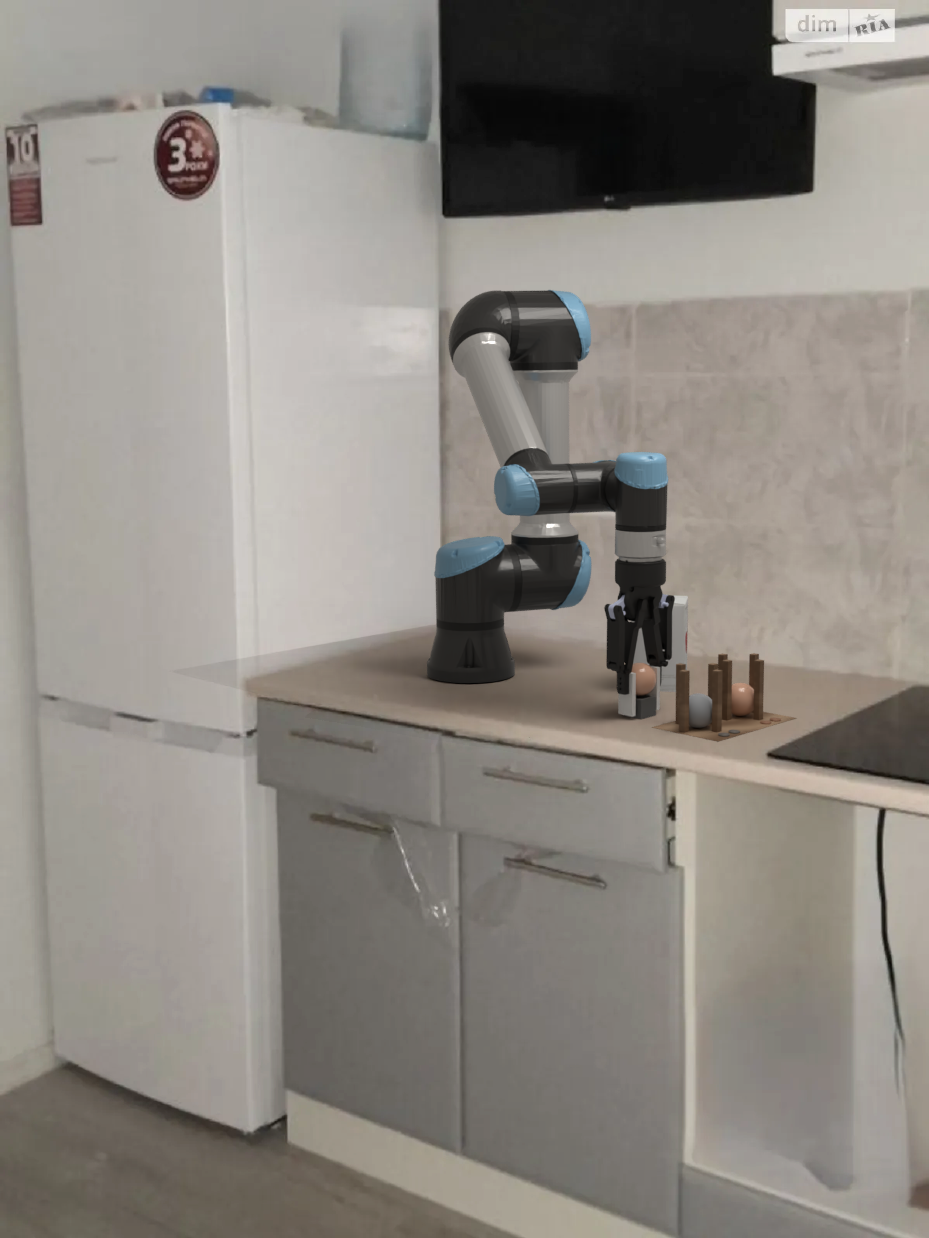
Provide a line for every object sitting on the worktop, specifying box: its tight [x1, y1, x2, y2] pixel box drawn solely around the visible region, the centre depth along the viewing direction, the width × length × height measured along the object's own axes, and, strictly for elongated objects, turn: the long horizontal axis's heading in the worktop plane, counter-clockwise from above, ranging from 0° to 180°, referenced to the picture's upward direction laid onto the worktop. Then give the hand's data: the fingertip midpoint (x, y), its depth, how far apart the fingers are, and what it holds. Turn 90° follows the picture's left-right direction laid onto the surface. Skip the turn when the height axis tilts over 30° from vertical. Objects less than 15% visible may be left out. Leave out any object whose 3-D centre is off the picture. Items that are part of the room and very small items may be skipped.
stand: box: [623, 695, 657, 720], centre depth 228 cm, size 3×3×4 cm
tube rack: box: [651, 652, 798, 743], centre depth 223 cm, size 12×19×10 cm, turn 133°
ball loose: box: [632, 663, 656, 696], centre depth 228 cm, size 5×5×5 cm
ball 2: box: [731, 682, 754, 716], centre depth 227 cm, size 5×5×5 cm
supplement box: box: [630, 595, 689, 693], centre depth 248 cm, size 9×9×15 cm
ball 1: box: [689, 692, 712, 728], centre depth 220 cm, size 5×5×5 cm
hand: (639, 711), depth 229 cm, fingers closed on ball loose, 5 cm apart
